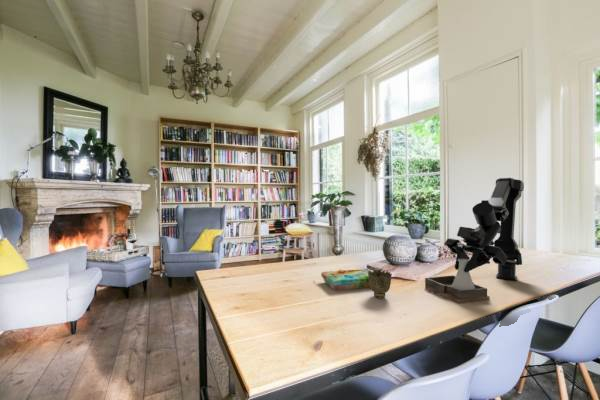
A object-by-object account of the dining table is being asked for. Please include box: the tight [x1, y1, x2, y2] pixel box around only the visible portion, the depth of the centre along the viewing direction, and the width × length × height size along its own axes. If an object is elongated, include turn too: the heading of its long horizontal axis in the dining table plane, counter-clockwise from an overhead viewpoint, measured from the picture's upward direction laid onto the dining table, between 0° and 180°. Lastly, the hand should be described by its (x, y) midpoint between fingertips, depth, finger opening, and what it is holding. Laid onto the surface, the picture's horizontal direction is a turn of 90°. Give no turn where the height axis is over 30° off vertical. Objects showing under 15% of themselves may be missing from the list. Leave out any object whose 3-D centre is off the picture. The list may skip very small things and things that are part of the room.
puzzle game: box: [321, 268, 374, 291], centre depth 106 cm, size 12×5×20 cm
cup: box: [368, 269, 393, 299], centre depth 93 cm, size 8×7×8 cm
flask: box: [451, 259, 475, 291], centre depth 93 cm, size 7×7×10 cm
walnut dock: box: [424, 274, 491, 304], centre depth 96 cm, size 15×12×4 cm
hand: (460, 270), depth 92 cm, fingers closed on flask, 3 cm apart
